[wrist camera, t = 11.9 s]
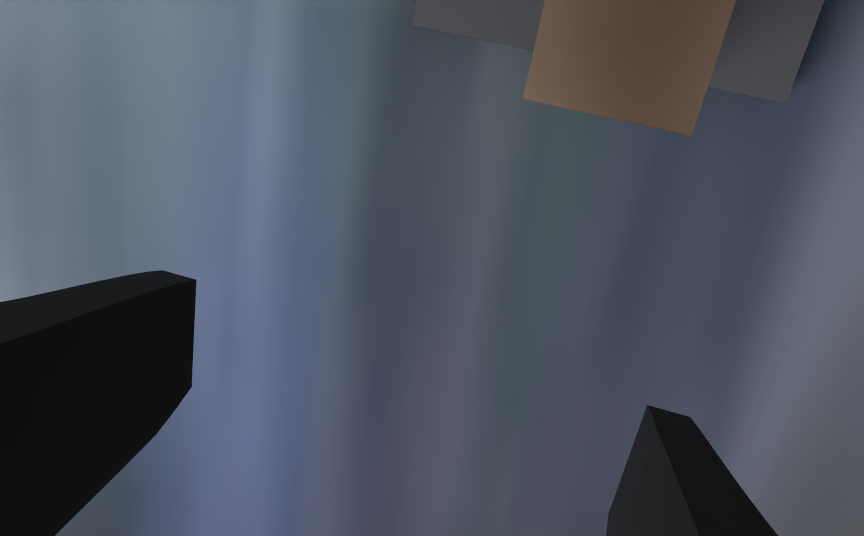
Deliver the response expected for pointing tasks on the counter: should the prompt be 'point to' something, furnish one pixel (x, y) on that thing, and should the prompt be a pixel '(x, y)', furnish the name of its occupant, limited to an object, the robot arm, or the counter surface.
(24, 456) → the robot arm
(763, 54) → the pad
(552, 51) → the two-tone stacked blocks
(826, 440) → the counter surface
